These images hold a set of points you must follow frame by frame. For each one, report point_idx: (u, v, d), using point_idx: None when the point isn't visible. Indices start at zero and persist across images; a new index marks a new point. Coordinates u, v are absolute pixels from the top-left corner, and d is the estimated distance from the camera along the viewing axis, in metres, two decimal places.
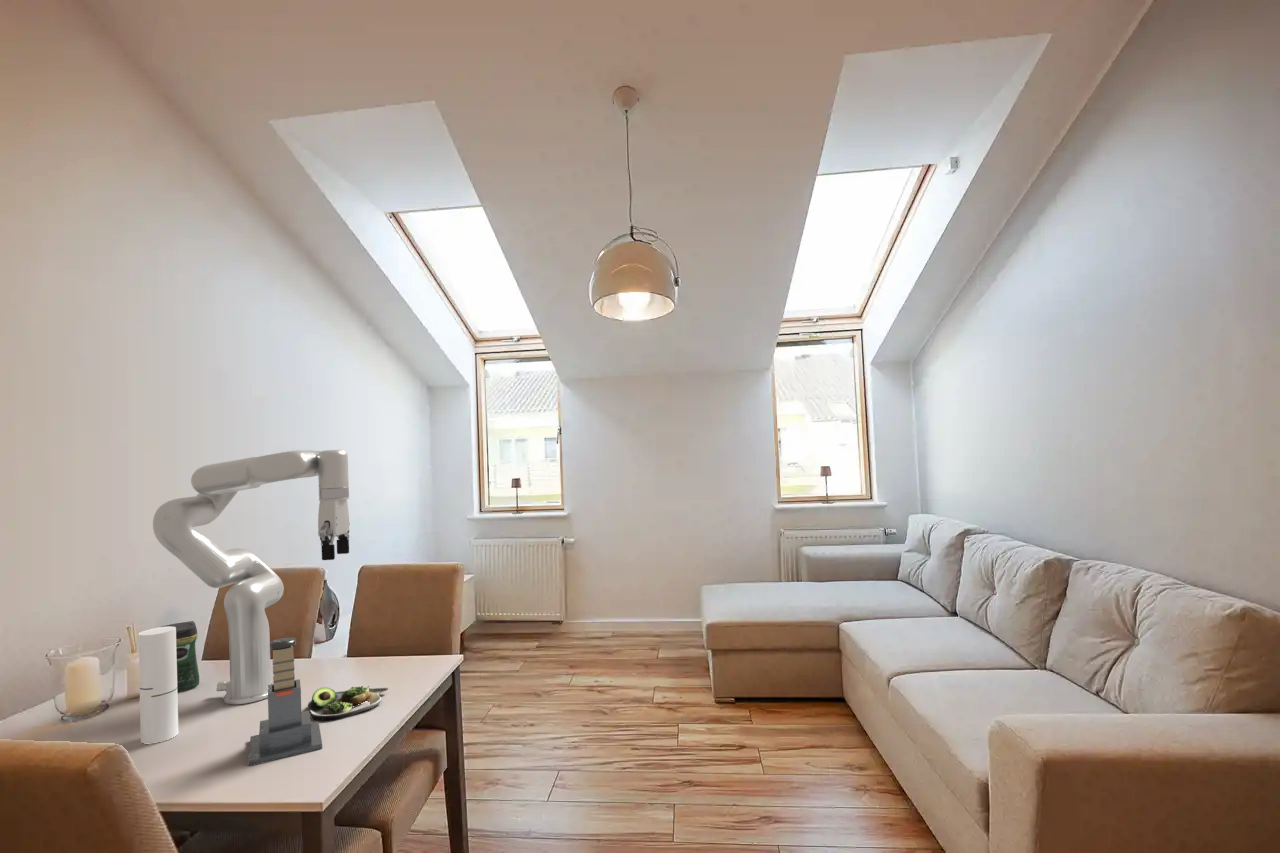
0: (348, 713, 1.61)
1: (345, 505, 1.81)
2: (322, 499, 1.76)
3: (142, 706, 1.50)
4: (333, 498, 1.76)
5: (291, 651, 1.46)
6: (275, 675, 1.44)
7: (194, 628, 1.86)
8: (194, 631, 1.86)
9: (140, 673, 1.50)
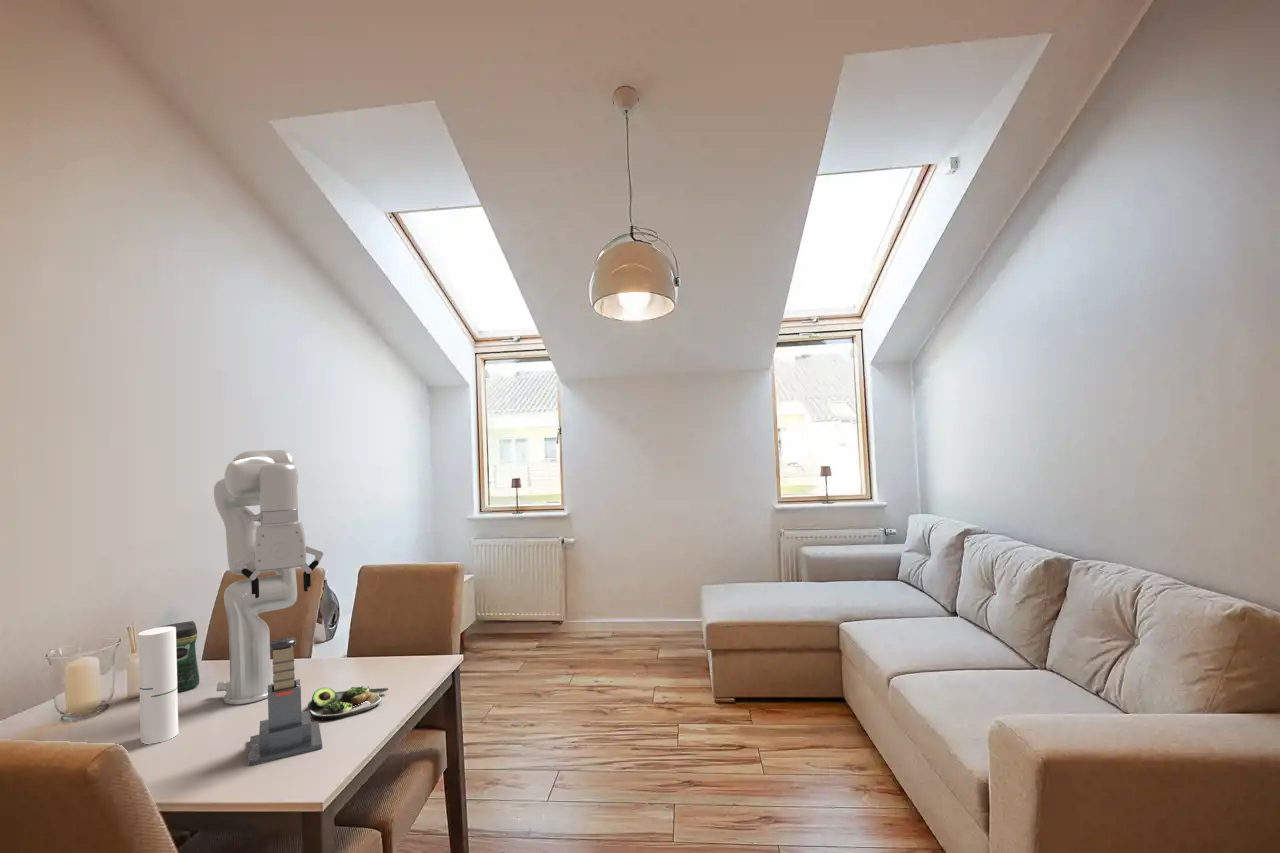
0: (348, 713, 1.61)
1: None
2: (296, 521, 1.48)
3: (142, 706, 1.50)
4: None
5: (291, 651, 1.46)
6: (275, 675, 1.44)
7: (194, 628, 1.86)
8: (194, 631, 1.86)
9: (140, 673, 1.50)
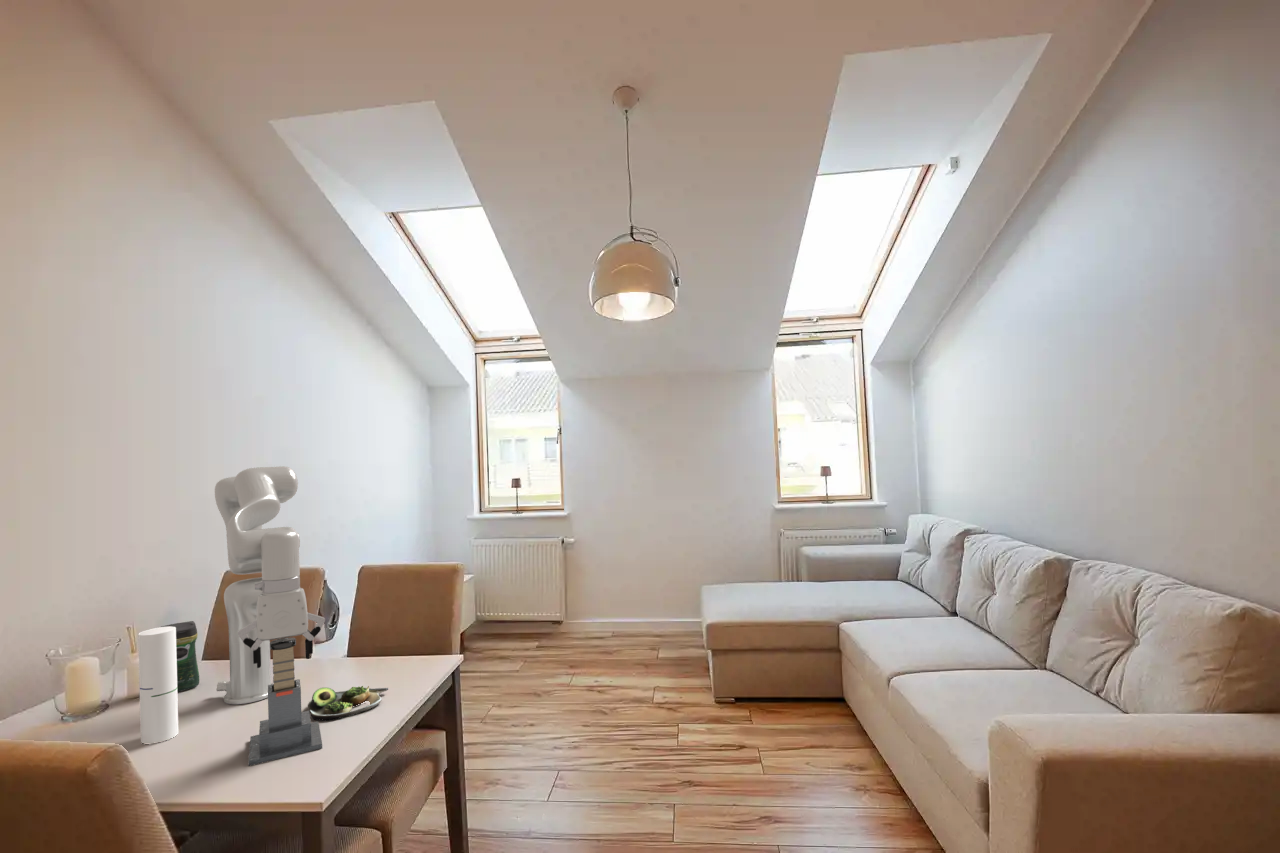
0: (348, 713, 1.61)
1: None
2: (298, 589, 1.47)
3: (142, 706, 1.50)
4: None
5: (291, 651, 1.46)
6: (275, 675, 1.44)
7: (194, 628, 1.86)
8: (194, 631, 1.86)
9: (140, 673, 1.50)
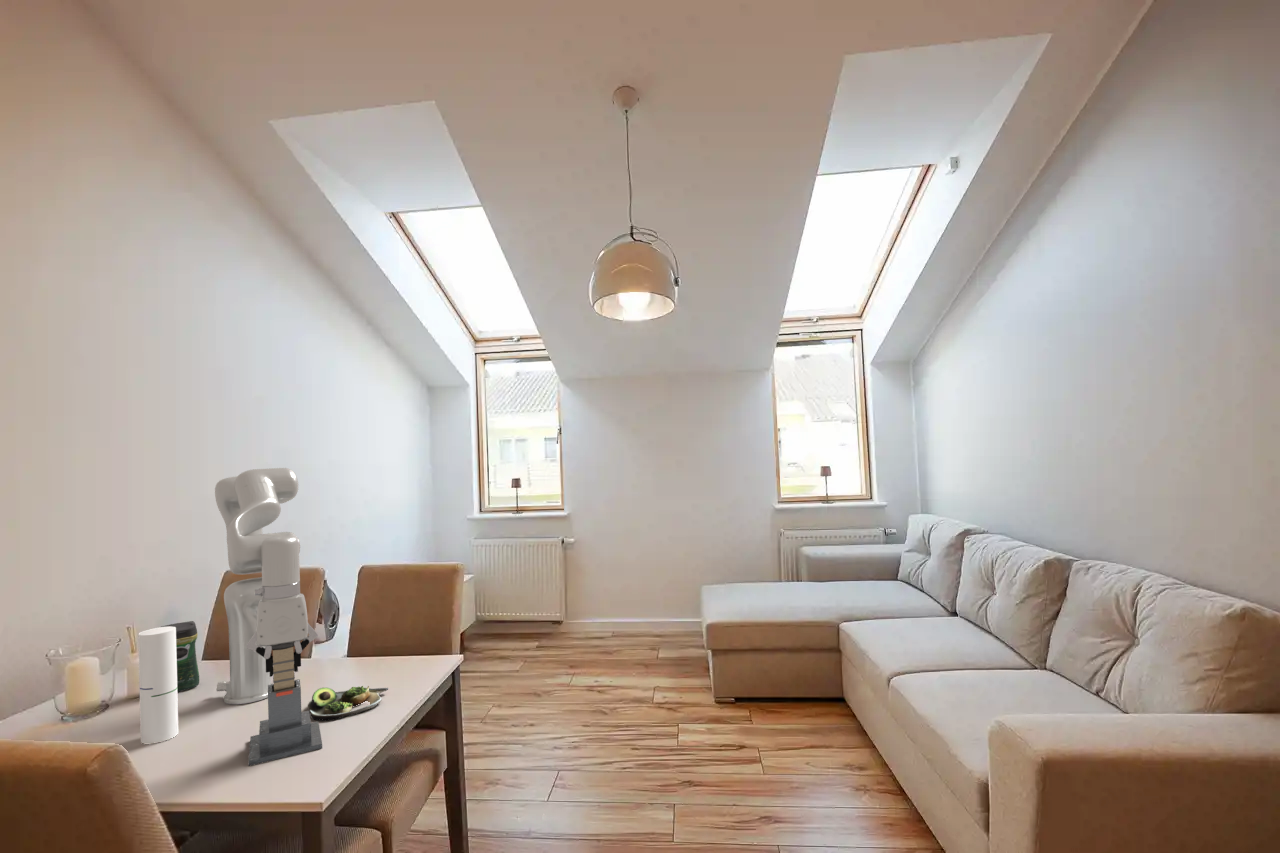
0: (348, 713, 1.61)
1: None
2: (298, 594, 1.47)
3: (142, 706, 1.50)
4: None
5: (291, 651, 1.46)
6: (275, 675, 1.44)
7: (194, 628, 1.86)
8: (194, 631, 1.86)
9: (140, 673, 1.50)
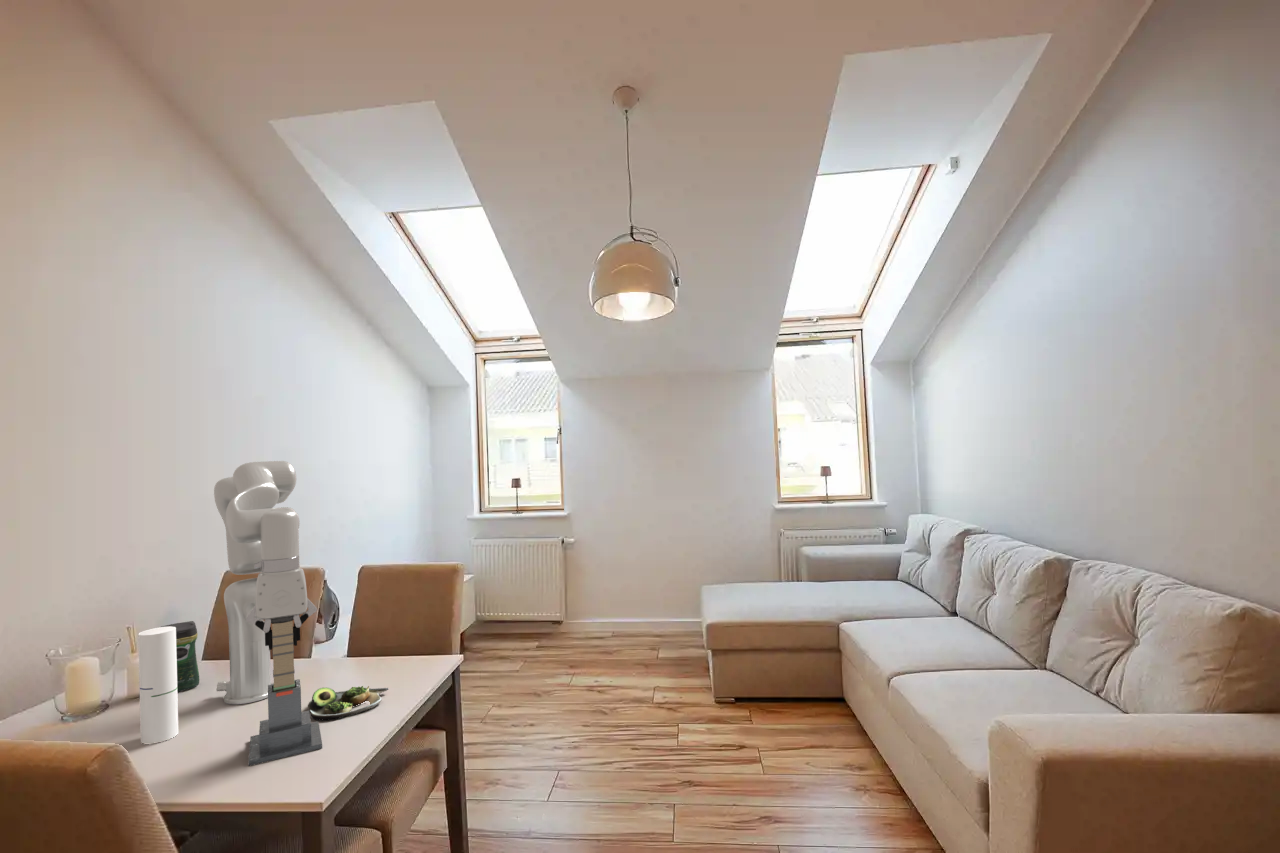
0: (348, 713, 1.61)
1: None
2: (297, 569, 1.48)
3: (142, 706, 1.50)
4: None
5: (290, 625, 1.46)
6: (274, 649, 1.44)
7: (194, 628, 1.86)
8: (194, 631, 1.86)
9: (140, 673, 1.50)
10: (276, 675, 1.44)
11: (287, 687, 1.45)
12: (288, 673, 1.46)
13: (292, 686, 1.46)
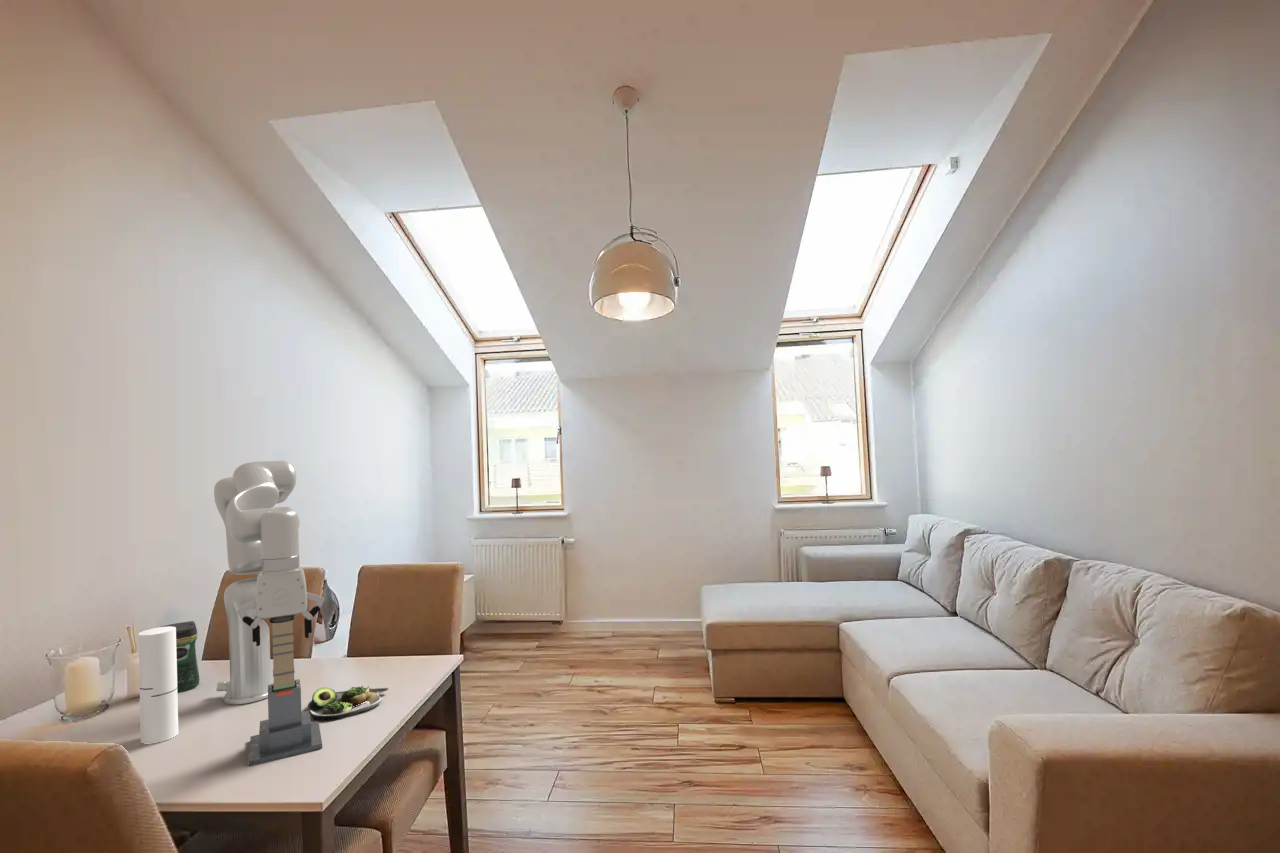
0: (348, 713, 1.61)
1: None
2: (297, 568, 1.48)
3: (142, 706, 1.50)
4: None
5: (290, 624, 1.46)
6: (274, 648, 1.44)
7: (194, 628, 1.86)
8: (194, 631, 1.86)
9: (140, 673, 1.50)
10: (276, 675, 1.44)
11: (287, 687, 1.45)
12: (288, 673, 1.46)
13: (292, 686, 1.46)
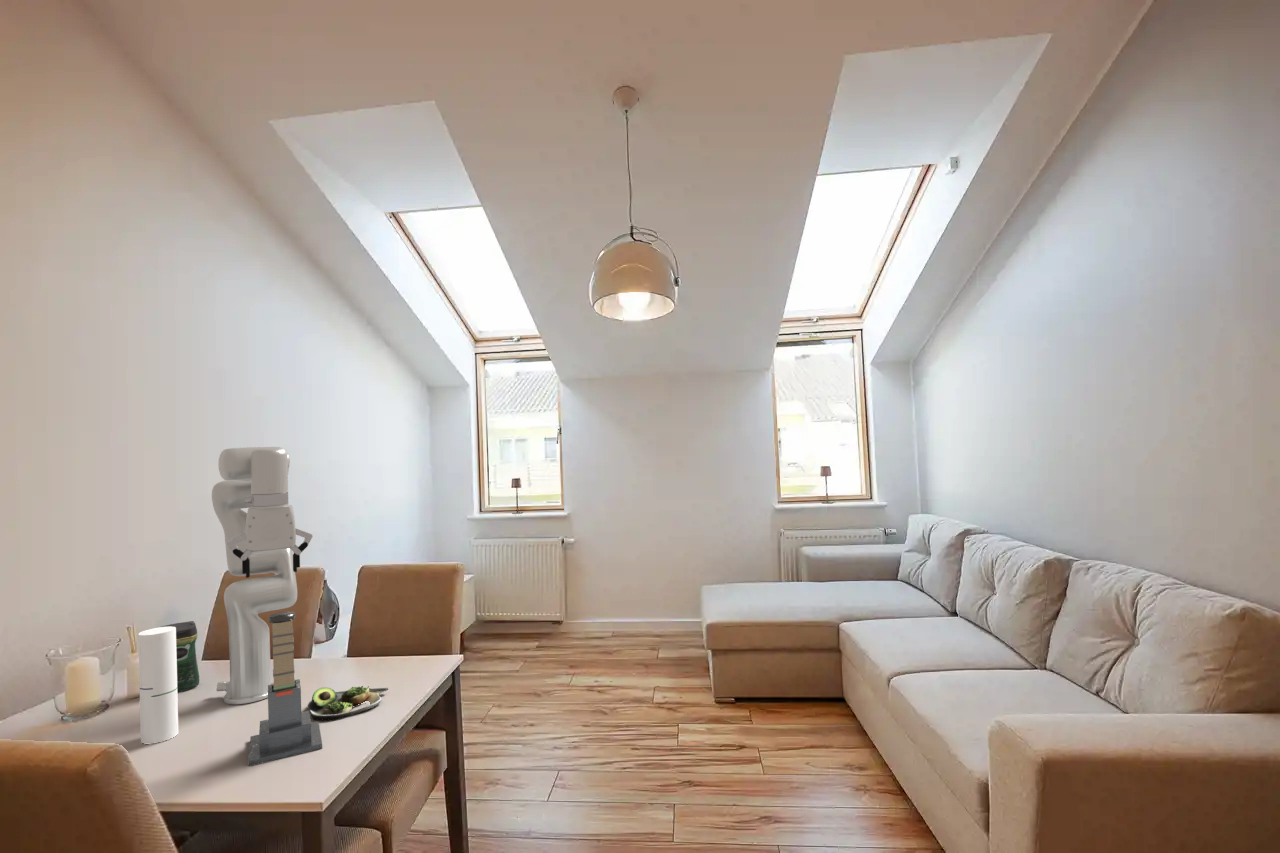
0: (348, 713, 1.61)
1: None
2: (286, 504, 1.52)
3: (142, 706, 1.50)
4: None
5: (290, 624, 1.46)
6: (274, 648, 1.44)
7: (194, 628, 1.86)
8: (194, 631, 1.86)
9: (140, 673, 1.50)
10: (276, 675, 1.44)
11: (287, 687, 1.45)
12: (288, 673, 1.46)
13: (292, 686, 1.46)
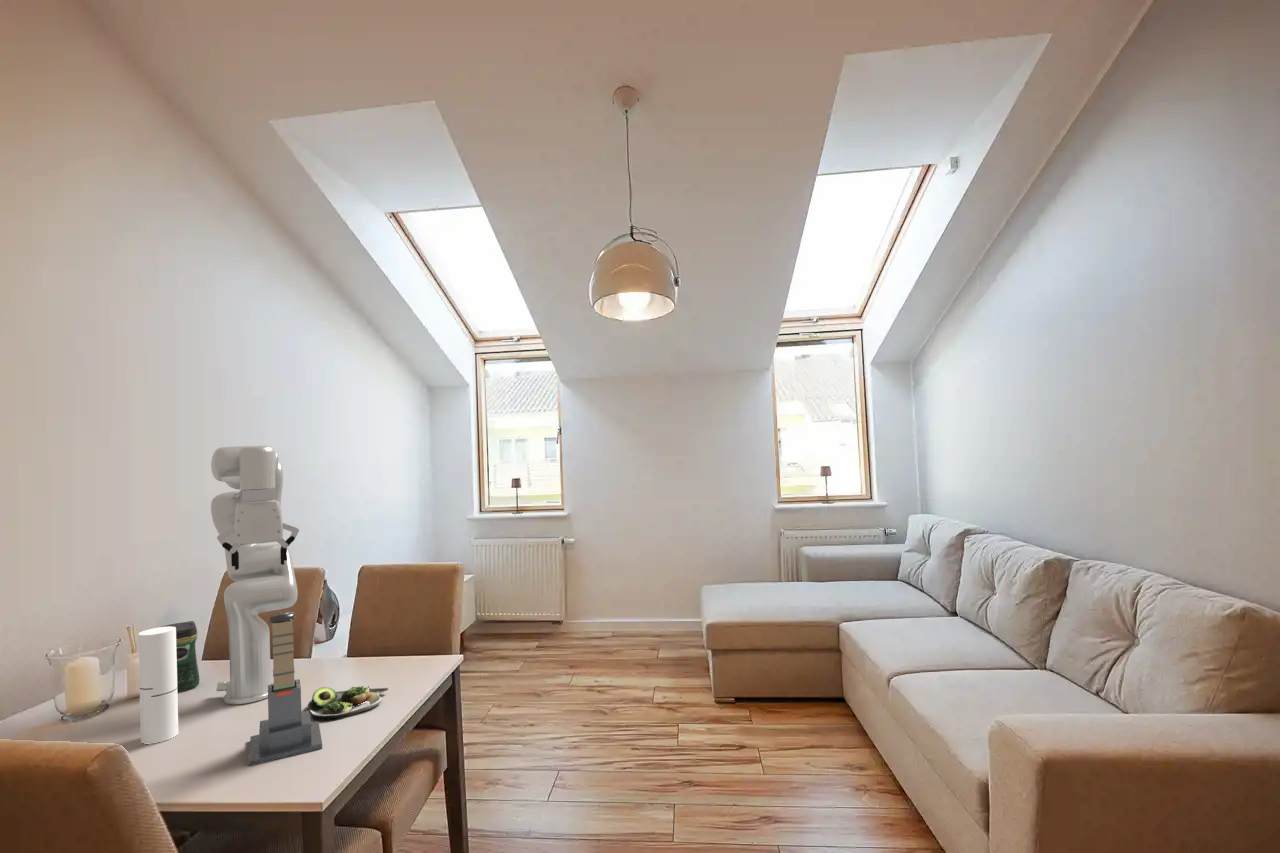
0: (348, 713, 1.61)
1: None
2: (273, 499, 1.59)
3: (142, 706, 1.50)
4: None
5: (290, 624, 1.46)
6: (274, 648, 1.44)
7: (194, 628, 1.86)
8: (194, 631, 1.86)
9: (140, 673, 1.50)
10: (276, 675, 1.44)
11: (287, 687, 1.45)
12: (288, 673, 1.46)
13: (292, 686, 1.46)
